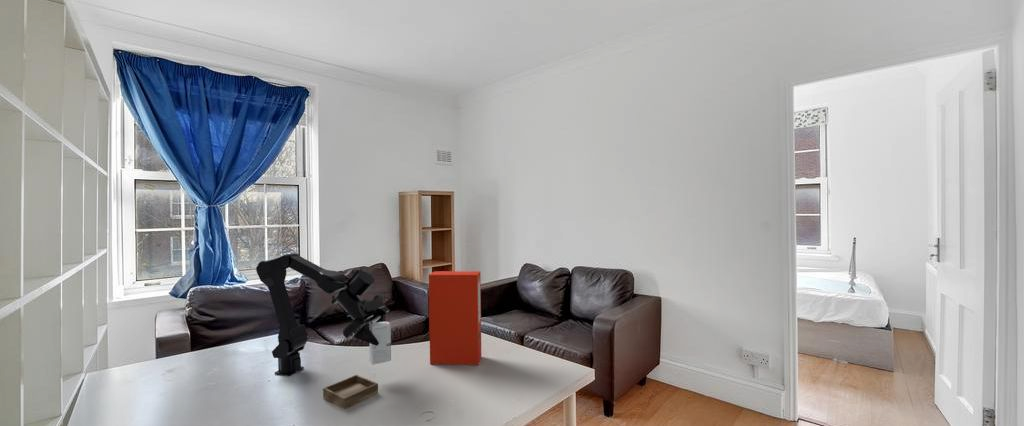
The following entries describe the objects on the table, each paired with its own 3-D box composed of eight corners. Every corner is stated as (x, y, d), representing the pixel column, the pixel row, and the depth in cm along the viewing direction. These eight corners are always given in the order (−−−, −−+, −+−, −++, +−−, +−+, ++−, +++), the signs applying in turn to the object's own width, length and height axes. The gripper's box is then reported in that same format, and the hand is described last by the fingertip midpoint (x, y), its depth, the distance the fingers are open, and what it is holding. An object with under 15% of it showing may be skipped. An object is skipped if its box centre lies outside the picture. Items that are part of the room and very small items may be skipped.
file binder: (436, 355, 147) (434, 270, 146) (481, 356, 146) (480, 270, 145) (430, 364, 139) (428, 275, 138) (478, 365, 138) (476, 275, 137)
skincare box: (372, 365, 124) (371, 327, 123) (369, 360, 127) (368, 323, 127) (392, 360, 127) (391, 323, 126) (388, 356, 131) (387, 320, 130)
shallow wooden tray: (323, 398, 116) (323, 388, 116) (356, 383, 125) (356, 374, 125) (344, 409, 110) (344, 398, 110) (378, 393, 119) (377, 383, 119)
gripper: (350, 295, 118) (384, 334, 116) (384, 282, 136) (413, 315, 134) (328, 319, 120) (361, 358, 118) (364, 303, 138) (392, 336, 136)
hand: (384, 340), depth 126 cm, fingers closed on skincare box, 7 cm apart
